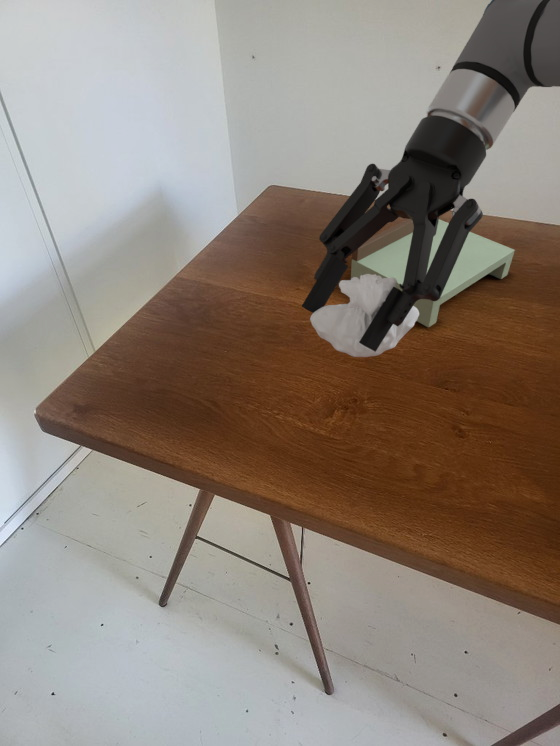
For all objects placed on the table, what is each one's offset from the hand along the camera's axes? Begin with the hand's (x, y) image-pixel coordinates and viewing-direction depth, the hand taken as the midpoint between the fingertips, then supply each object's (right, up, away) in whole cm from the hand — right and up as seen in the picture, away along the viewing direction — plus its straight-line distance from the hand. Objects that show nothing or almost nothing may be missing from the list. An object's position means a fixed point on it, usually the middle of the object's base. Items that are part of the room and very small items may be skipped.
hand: (337, 328), depth 56 cm
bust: (+3, -2, +4) cm, 5 cm away
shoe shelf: (+20, +12, +35) cm, 42 cm away
